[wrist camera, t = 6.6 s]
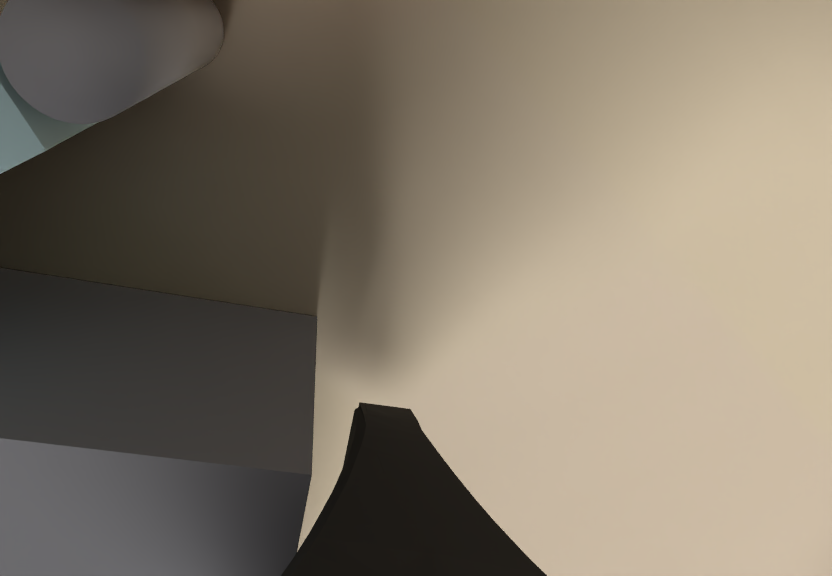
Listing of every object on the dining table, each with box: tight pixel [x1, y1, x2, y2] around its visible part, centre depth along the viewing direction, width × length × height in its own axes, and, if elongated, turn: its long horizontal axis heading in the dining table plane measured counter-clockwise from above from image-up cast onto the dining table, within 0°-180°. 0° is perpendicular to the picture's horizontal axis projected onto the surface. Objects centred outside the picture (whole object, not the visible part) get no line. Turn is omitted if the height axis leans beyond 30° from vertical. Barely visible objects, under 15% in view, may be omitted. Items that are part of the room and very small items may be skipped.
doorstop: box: [0, 268, 317, 576], centre depth 9 cm, size 6×6×4 cm
